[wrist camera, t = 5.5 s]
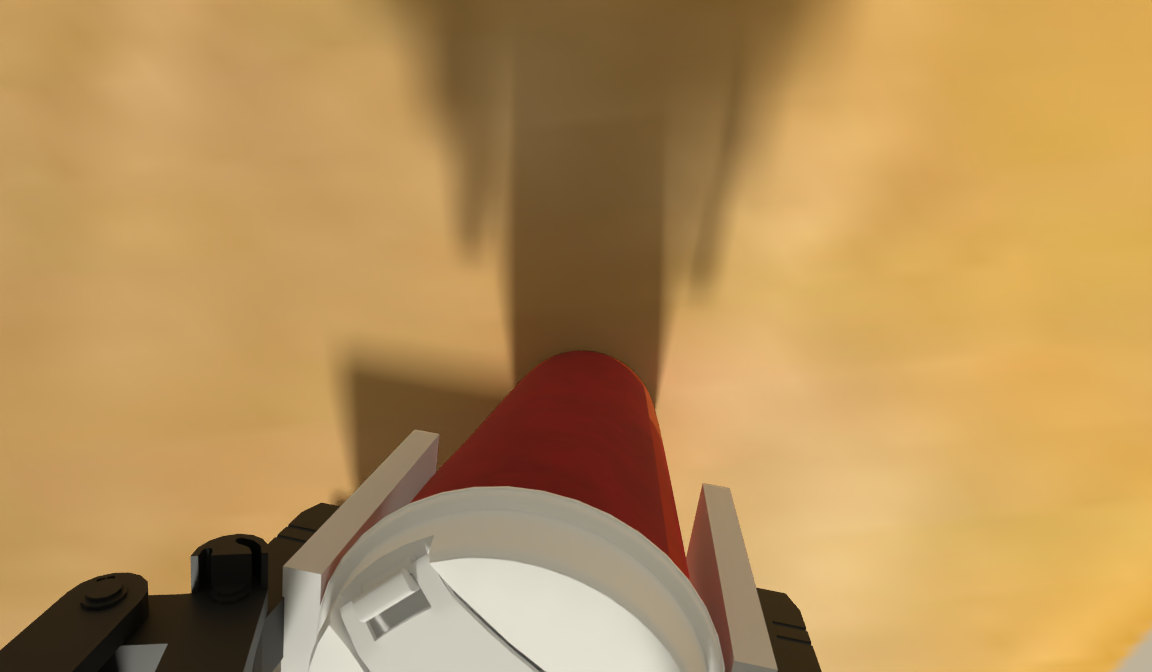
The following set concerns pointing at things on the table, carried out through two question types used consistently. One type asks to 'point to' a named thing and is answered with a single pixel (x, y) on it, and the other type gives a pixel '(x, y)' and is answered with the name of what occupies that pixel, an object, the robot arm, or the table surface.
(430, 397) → the table surface
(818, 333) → the table surface
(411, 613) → the paper cup
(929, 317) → the table surface
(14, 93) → the table surface
